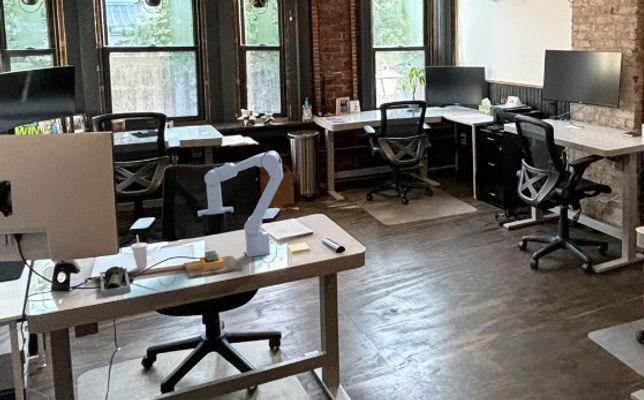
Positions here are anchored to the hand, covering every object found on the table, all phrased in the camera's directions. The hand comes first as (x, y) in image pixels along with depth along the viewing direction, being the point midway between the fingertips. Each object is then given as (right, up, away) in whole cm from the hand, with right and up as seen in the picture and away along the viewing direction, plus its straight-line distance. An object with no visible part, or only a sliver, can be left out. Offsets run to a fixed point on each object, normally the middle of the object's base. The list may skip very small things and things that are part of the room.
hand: (217, 230), depth 267 cm
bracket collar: (-3, -14, -14) cm, 20 cm away
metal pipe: (-34, -20, -26) cm, 47 cm away
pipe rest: (-34, -19, -26) cm, 47 cm away
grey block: (0, -14, -13) cm, 19 cm away
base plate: (0, -14, -13) cm, 19 cm away
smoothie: (-29, -15, -9) cm, 34 cm away
